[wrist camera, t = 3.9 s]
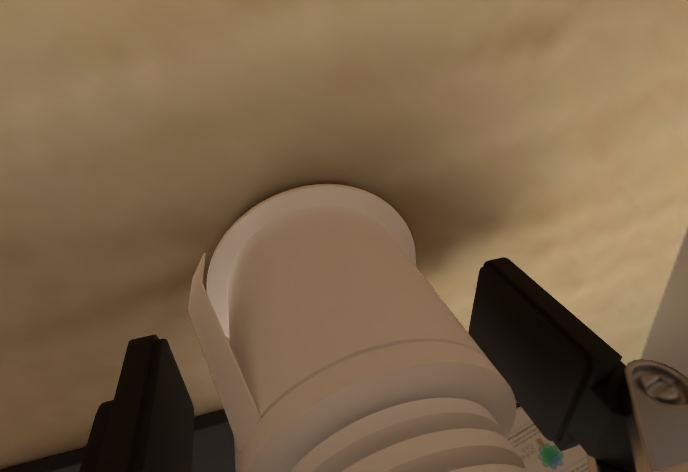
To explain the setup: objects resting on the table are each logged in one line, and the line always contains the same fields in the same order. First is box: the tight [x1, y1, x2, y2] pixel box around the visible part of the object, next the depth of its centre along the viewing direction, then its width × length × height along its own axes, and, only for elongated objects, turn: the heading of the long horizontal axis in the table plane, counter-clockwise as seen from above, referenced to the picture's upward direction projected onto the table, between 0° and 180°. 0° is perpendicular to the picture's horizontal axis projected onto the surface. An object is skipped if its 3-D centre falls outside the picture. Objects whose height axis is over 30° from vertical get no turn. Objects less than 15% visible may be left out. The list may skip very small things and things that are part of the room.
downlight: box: [188, 184, 529, 472], centre depth 9 cm, size 8×7×10 cm
